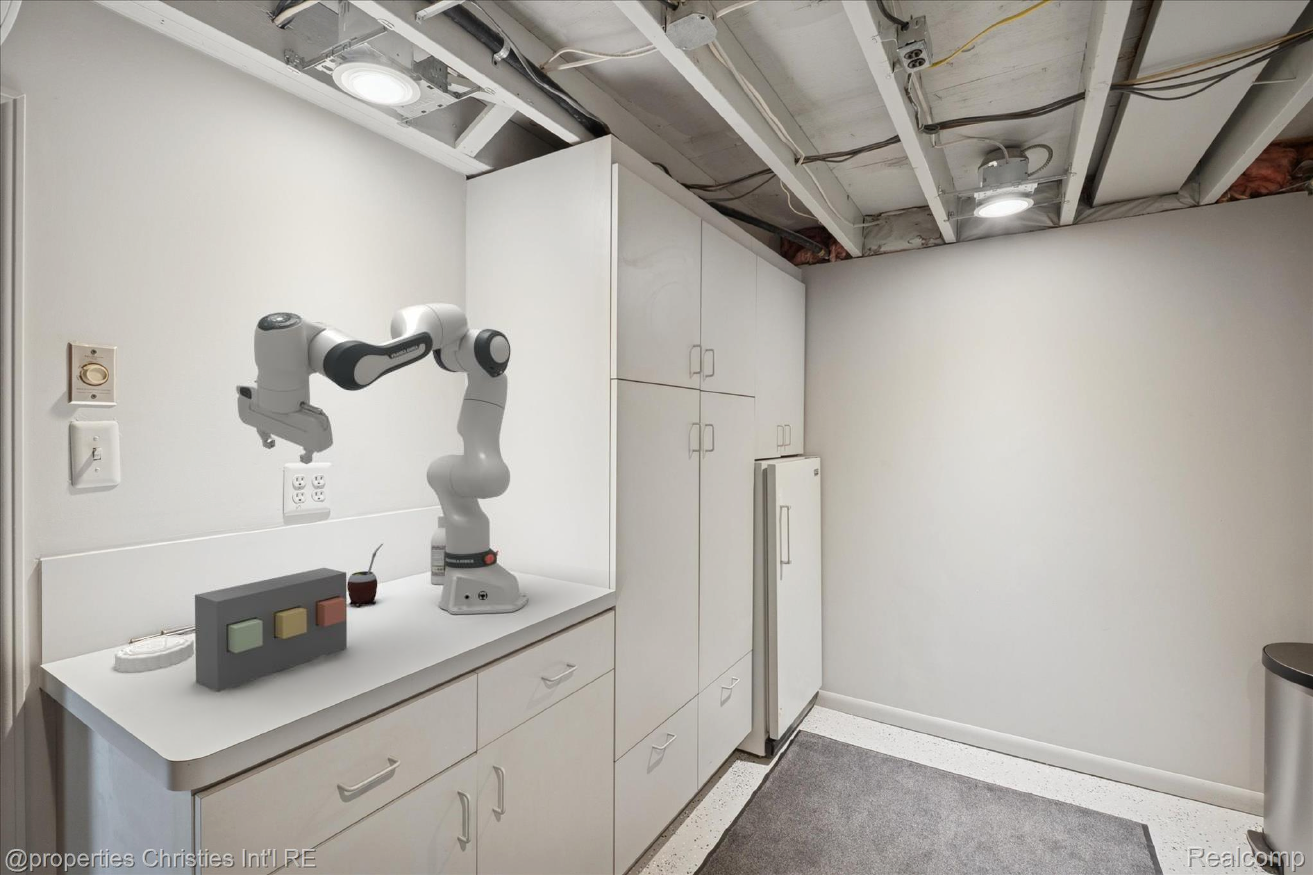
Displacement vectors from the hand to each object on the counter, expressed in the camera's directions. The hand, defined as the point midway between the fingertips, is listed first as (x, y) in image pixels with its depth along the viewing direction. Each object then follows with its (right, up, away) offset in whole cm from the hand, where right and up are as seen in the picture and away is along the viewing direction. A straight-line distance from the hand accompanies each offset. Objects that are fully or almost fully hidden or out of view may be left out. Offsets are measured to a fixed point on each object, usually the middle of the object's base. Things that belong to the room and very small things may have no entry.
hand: (287, 454), depth 125 cm
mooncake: (-23, -41, -6) cm, 47 cm away
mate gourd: (0, -40, +32) cm, 51 cm away
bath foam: (+14, -40, +53) cm, 68 cm away
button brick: (+11, -34, -3) cm, 36 cm away
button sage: (+3, -34, -17) cm, 38 cm away
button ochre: (+7, -34, -10) cm, 36 cm away
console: (+2, -41, -7) cm, 42 cm away
